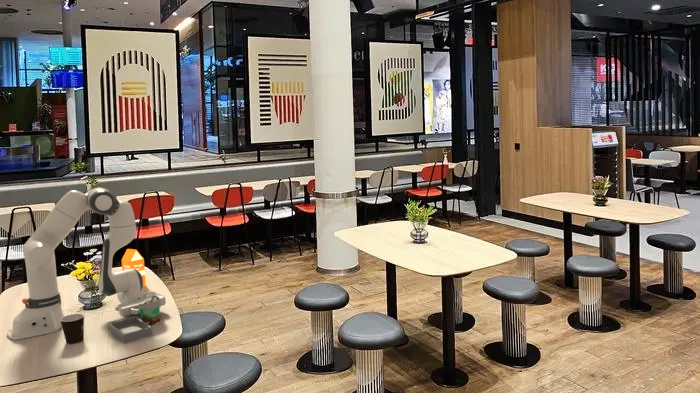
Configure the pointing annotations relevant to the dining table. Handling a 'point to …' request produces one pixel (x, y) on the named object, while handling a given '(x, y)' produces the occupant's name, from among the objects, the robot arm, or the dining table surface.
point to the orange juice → (134, 262)
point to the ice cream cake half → (150, 310)
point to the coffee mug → (73, 328)
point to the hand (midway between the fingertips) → (148, 309)
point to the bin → (130, 329)
